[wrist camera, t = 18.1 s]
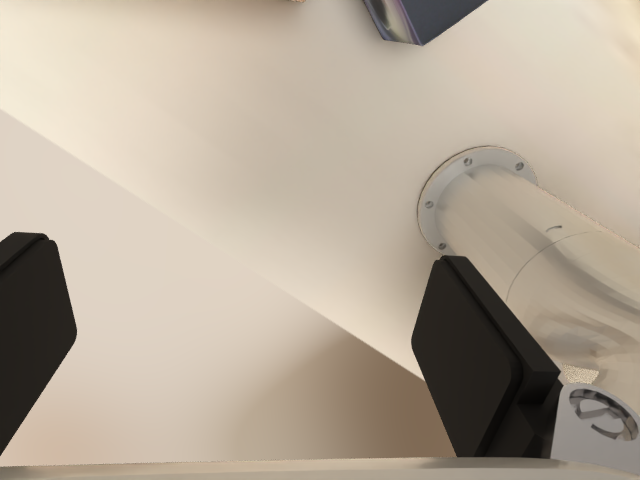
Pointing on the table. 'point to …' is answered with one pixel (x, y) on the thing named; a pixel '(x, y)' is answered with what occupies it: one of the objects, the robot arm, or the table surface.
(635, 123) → the table surface
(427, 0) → the small box
